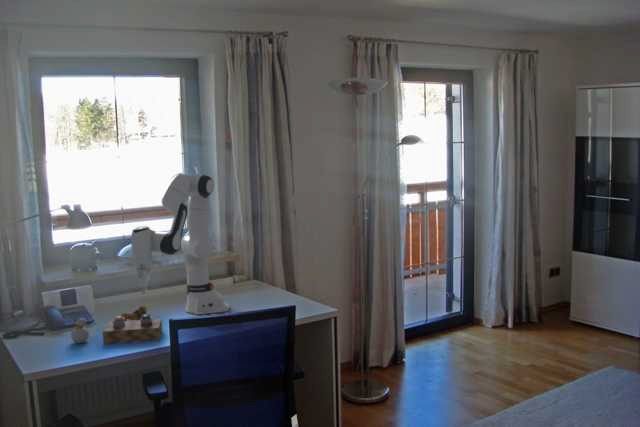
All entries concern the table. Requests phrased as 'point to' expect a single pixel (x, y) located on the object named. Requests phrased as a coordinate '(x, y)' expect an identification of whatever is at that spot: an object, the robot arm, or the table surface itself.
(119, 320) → the grey rounded cylinder
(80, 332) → the perfume bottle
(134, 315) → the lion figurine
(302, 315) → the table surface
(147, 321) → the grey button
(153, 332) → the brown wooden block
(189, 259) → the robot arm
